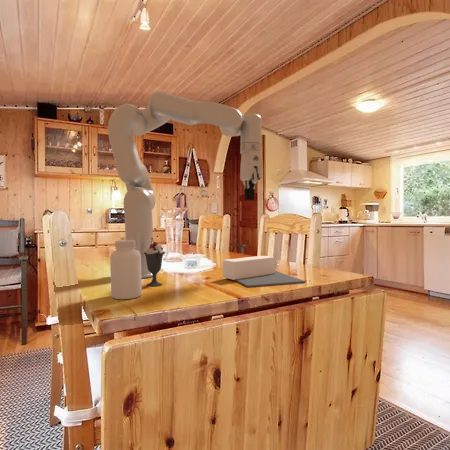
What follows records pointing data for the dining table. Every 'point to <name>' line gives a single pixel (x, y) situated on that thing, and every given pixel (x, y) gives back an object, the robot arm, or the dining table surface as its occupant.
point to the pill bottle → (125, 270)
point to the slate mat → (269, 280)
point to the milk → (248, 267)
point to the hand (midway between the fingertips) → (249, 199)
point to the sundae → (154, 261)
